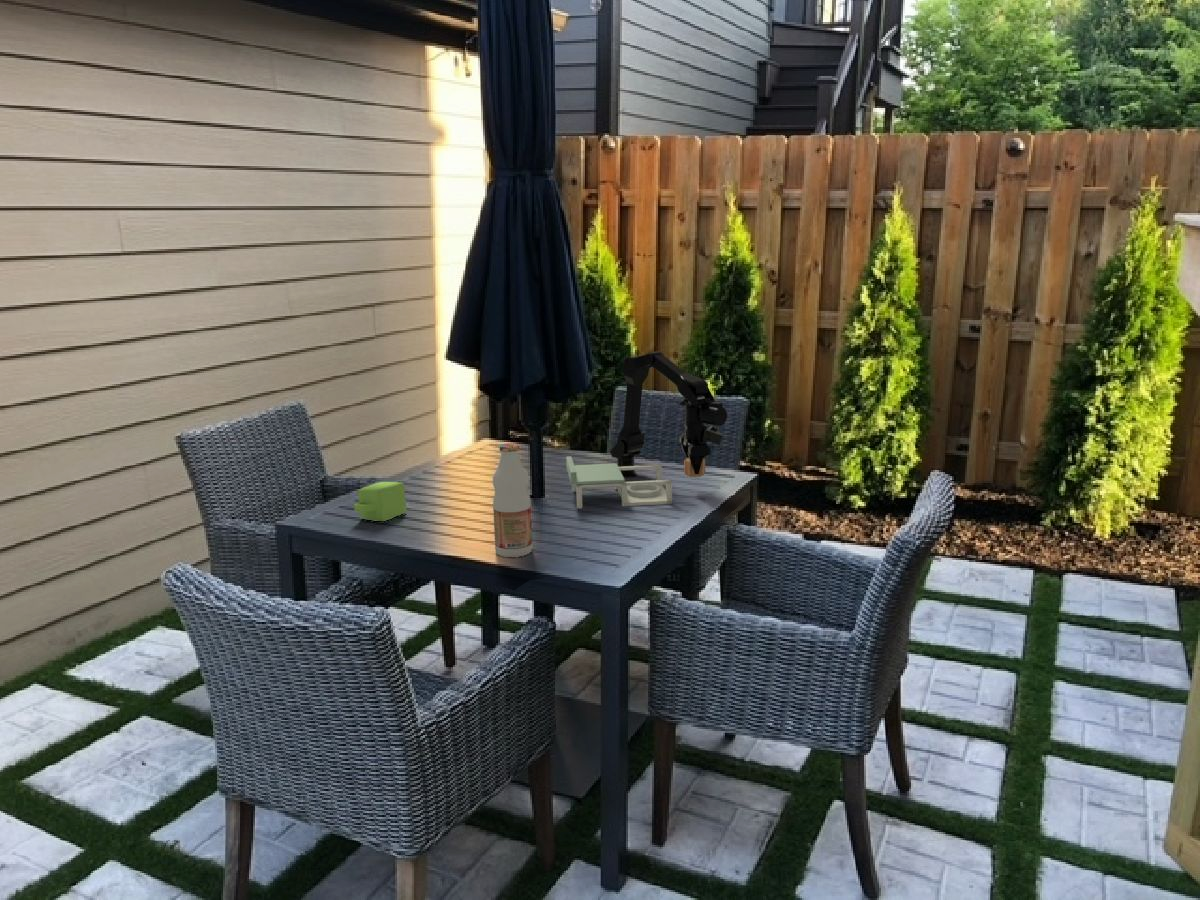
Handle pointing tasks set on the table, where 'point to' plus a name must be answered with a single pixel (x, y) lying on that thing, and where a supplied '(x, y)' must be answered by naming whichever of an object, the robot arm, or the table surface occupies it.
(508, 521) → the fruit juice
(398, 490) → the gearbox
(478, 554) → the table surface
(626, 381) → the robot arm
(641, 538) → the table surface
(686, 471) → the gear hub
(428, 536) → the table surface
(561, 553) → the table surface
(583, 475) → the sliding lid
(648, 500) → the housing
